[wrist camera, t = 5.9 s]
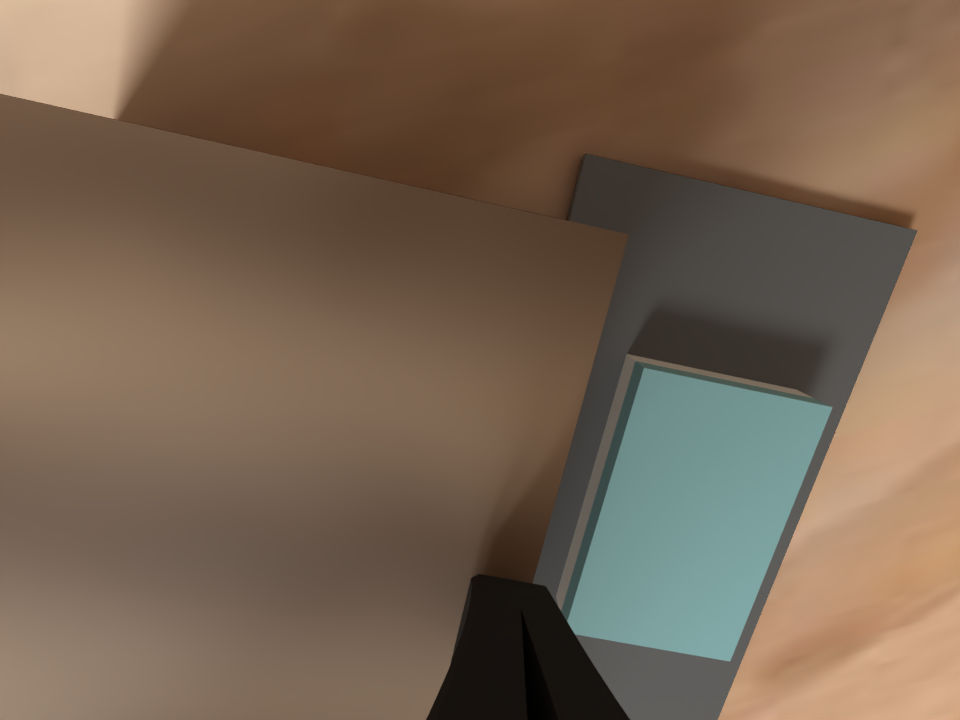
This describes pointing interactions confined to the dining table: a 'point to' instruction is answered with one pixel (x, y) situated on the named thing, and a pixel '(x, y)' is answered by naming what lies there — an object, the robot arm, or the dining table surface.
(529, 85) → the dining table surface
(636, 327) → the mat
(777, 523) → the teal and white sponge
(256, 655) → the riser
